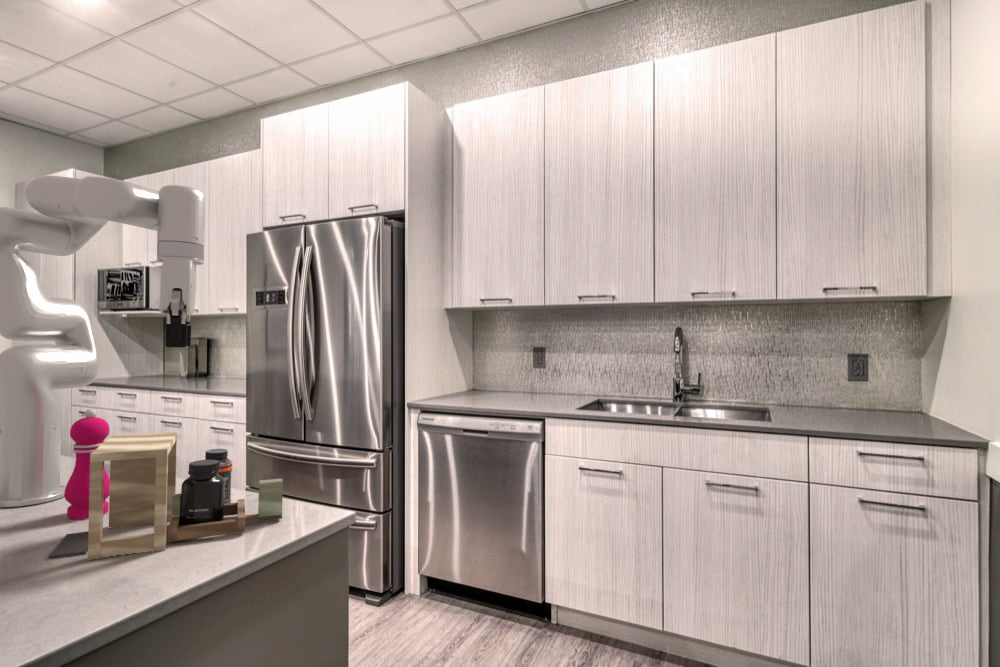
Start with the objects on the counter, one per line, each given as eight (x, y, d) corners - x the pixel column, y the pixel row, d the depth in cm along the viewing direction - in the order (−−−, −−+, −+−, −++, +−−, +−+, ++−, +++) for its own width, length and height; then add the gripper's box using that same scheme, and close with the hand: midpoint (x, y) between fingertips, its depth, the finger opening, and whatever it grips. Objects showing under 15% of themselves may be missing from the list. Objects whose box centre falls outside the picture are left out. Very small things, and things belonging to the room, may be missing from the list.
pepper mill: (85, 522, 97) (88, 412, 98) (53, 518, 99) (55, 410, 99) (121, 509, 105) (123, 407, 105) (90, 506, 106) (92, 405, 106)
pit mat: (66, 536, 91) (66, 534, 91) (100, 532, 93) (100, 530, 93) (48, 558, 82) (48, 556, 82) (85, 554, 84) (85, 551, 84)
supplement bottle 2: (201, 513, 104) (203, 454, 104) (194, 505, 108) (195, 449, 108) (235, 507, 107) (236, 451, 108) (226, 500, 112) (228, 446, 112)
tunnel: (110, 526, 96) (112, 435, 96) (175, 518, 100) (177, 432, 100) (87, 560, 81) (90, 454, 82) (164, 550, 86) (167, 449, 86)
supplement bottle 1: (190, 540, 90) (192, 469, 90) (172, 530, 94) (174, 462, 94) (231, 529, 96) (232, 461, 96) (212, 520, 100) (214, 456, 100)
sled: (175, 519, 98) (176, 481, 98) (279, 507, 106) (280, 472, 106) (168, 541, 88) (169, 499, 88) (283, 526, 96) (284, 487, 96)
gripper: (162, 258, 106) (160, 345, 106) (150, 246, 90) (147, 347, 90) (206, 261, 109) (204, 345, 109) (201, 250, 94) (198, 348, 93)
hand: (178, 346), depth 100 cm, fingers open, 9 cm apart
